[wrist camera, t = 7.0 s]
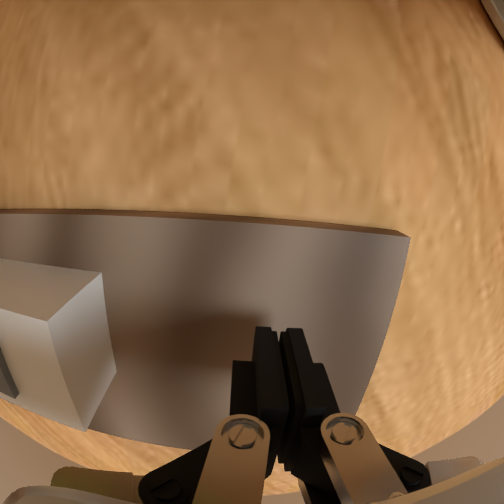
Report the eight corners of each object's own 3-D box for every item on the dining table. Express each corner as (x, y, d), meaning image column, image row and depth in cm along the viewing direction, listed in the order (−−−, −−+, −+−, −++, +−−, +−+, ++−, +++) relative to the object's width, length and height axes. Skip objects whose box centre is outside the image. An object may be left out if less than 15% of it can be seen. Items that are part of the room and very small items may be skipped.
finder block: (101, 272, 10) (40, 328, 6) (116, 371, 12) (82, 439, 8) (-8, 256, 10) (-67, 289, 6) (13, 342, 11) (-30, 386, 7)
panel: (396, 230, 11) (430, 247, 9) (334, 435, 15) (344, 467, 13) (-69, 211, 10) (-94, 220, 7) (-30, 365, 14) (-46, 382, 11)
